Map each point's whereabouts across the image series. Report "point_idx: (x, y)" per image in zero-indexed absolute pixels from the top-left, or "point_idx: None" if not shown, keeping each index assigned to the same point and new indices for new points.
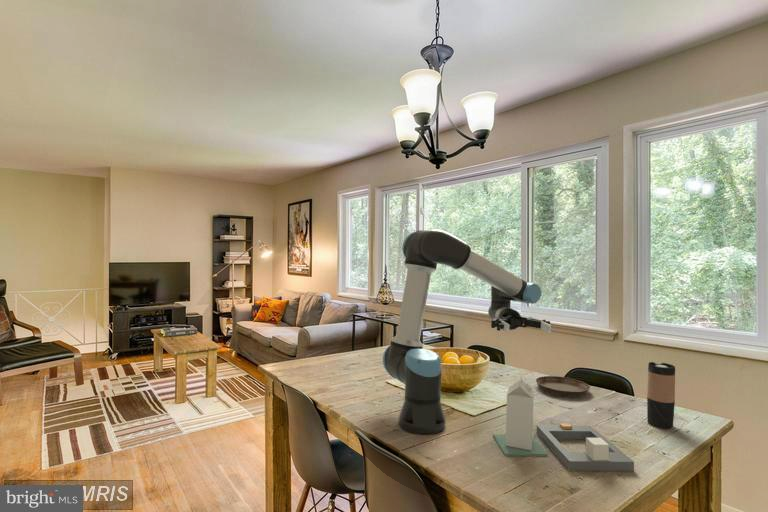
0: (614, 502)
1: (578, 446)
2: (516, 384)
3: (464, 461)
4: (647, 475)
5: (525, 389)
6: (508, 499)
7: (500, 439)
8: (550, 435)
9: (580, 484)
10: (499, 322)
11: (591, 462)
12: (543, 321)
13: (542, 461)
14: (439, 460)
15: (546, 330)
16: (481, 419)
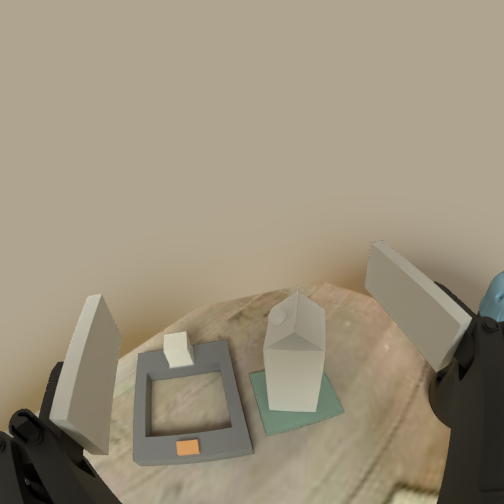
0: (201, 308)
1: (185, 416)
2: (306, 321)
3: (366, 329)
4: (132, 356)
5: (285, 307)
6: (305, 289)
7: (328, 396)
8: (233, 408)
9: (224, 326)
10: (475, 325)
11: (195, 345)
12: (42, 423)
13: (261, 360)
14: (393, 321)
15: (112, 355)
16: (378, 476)
